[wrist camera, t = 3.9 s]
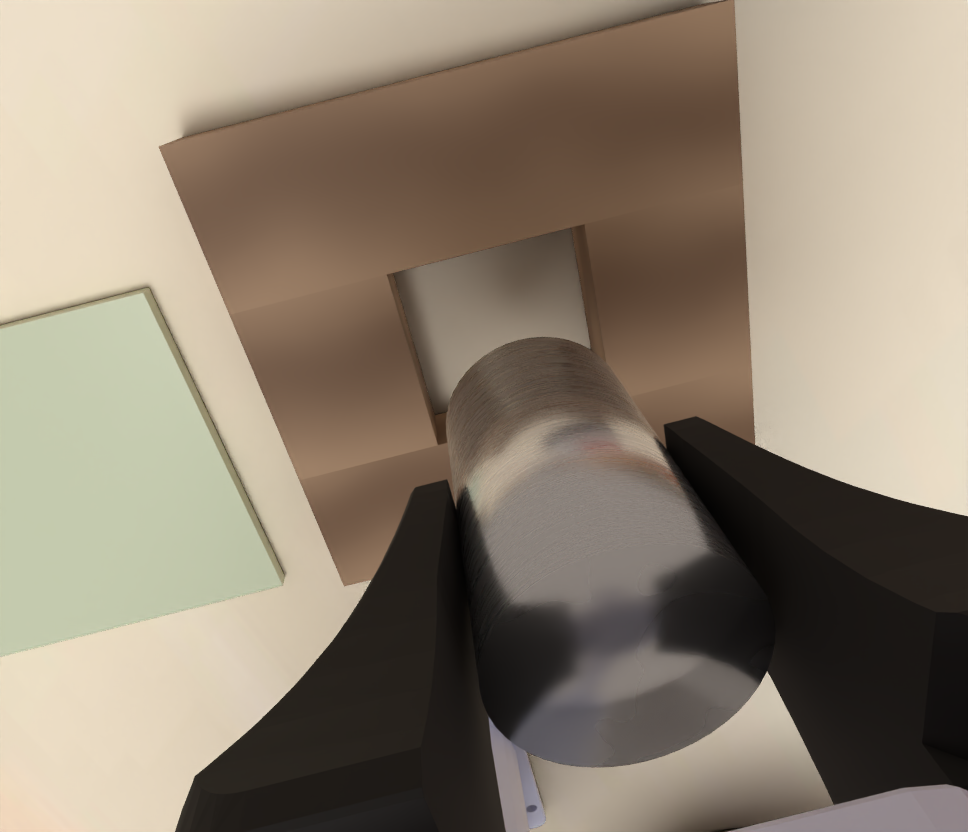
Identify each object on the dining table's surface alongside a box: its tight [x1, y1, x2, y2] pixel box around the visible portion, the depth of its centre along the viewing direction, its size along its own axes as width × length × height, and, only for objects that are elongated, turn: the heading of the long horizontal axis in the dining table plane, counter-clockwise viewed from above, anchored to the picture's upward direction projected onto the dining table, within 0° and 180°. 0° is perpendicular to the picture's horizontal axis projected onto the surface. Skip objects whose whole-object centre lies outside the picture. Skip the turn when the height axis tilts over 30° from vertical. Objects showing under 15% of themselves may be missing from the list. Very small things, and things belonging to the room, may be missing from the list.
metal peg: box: [446, 337, 776, 767], centre depth 12 cm, size 4×4×7 cm
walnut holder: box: [159, 0, 755, 586], centre depth 21 cm, size 14×14×2 cm
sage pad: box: [0, 288, 285, 657], centre depth 22 cm, size 11×11×1 cm
